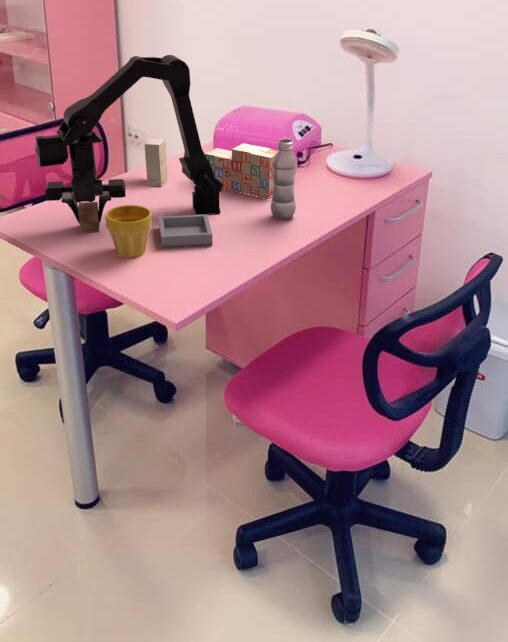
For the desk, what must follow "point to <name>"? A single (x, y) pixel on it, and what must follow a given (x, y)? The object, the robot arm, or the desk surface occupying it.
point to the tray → (185, 231)
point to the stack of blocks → (244, 169)
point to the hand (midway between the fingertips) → (89, 222)
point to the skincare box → (156, 162)
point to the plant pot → (129, 229)
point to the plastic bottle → (284, 180)
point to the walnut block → (88, 216)
